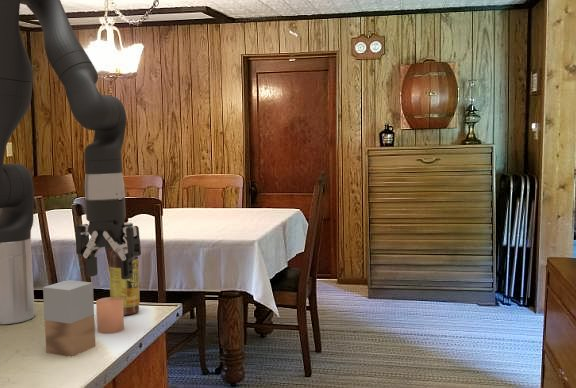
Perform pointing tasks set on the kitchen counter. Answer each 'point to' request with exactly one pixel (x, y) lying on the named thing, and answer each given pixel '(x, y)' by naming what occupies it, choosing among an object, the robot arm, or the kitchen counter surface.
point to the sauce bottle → (125, 282)
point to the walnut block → (70, 336)
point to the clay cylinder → (110, 315)
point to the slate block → (68, 301)
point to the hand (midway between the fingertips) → (109, 277)
